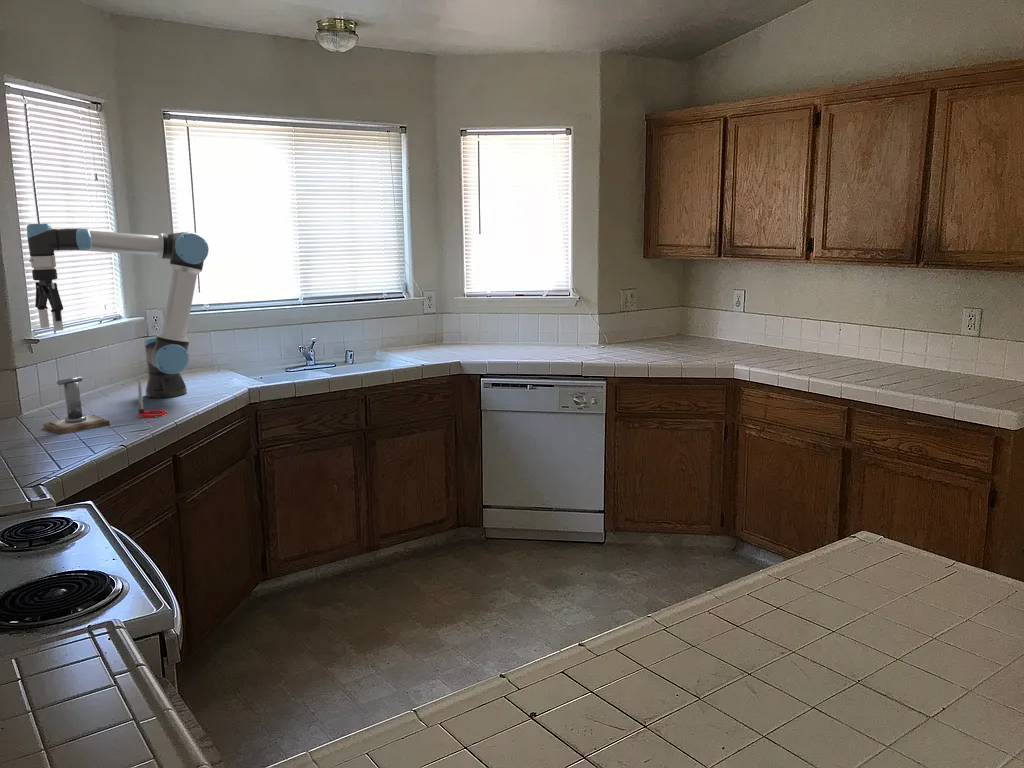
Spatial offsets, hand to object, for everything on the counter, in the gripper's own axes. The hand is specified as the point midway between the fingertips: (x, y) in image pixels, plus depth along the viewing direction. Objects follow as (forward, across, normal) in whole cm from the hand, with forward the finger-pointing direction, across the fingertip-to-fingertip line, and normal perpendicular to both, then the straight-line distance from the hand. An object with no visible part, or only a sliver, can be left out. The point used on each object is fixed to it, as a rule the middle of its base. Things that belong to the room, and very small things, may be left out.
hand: (51, 329), depth 292 cm
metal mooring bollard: (+29, +25, -4) cm, 38 cm away
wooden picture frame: (+31, +25, -4) cm, 40 cm away
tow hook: (+31, +29, +20) cm, 47 cm away
